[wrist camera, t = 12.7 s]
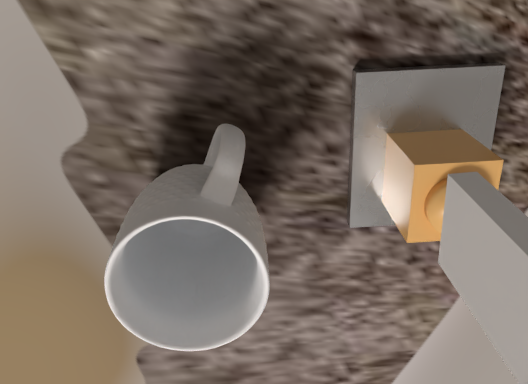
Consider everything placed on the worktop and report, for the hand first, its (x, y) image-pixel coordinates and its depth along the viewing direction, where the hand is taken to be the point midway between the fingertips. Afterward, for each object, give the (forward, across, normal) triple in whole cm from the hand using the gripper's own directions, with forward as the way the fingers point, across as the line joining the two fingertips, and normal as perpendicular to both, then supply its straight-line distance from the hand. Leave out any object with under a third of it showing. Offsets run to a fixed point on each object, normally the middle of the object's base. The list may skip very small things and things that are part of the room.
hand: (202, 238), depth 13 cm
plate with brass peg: (+29, +16, -9) cm, 34 cm away
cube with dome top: (+27, +16, -11) cm, 34 cm away
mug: (+29, -3, -12) cm, 31 cm away
